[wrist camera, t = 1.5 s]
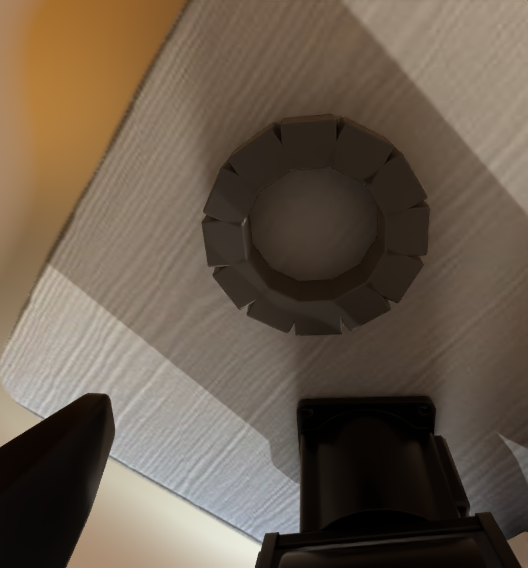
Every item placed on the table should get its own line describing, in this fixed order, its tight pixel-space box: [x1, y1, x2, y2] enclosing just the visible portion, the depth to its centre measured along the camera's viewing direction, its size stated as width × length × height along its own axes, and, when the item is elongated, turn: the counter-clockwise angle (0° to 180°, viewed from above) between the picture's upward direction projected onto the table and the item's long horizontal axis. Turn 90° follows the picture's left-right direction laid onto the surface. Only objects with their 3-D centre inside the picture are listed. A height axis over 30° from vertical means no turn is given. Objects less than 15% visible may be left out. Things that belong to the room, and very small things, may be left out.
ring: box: [202, 114, 430, 336], centre depth 19 cm, size 8×8×2 cm
